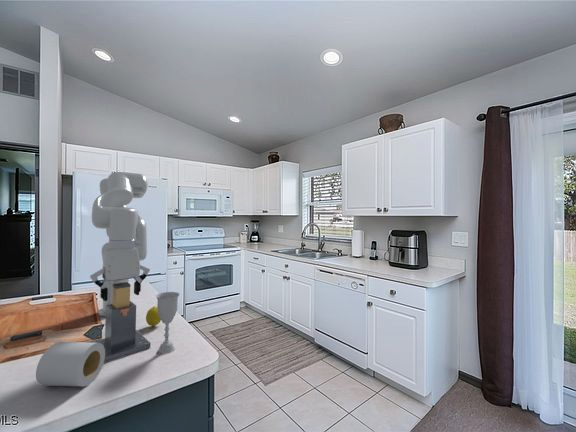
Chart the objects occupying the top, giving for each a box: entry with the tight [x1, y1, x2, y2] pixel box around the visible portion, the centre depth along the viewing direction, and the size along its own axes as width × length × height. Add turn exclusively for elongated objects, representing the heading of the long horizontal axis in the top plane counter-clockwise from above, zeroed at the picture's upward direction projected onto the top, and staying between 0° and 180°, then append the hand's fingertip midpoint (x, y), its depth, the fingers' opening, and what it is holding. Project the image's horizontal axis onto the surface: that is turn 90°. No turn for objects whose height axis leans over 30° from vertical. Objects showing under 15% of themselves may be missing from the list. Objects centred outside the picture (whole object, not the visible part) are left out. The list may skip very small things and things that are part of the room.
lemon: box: [145, 305, 162, 328], centre depth 105 cm, size 6×6×8 cm
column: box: [112, 282, 131, 309], centre depth 88 cm, size 4×4×19 cm
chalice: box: [155, 291, 180, 354], centre depth 88 cm, size 7×7×18 cm
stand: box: [89, 300, 151, 364], centre depth 88 cm, size 14×14×14 cm
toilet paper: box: [35, 341, 105, 387], centre depth 70 cm, size 10×10×10 cm
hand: (121, 296), depth 88 cm, fingers open, 8 cm apart
